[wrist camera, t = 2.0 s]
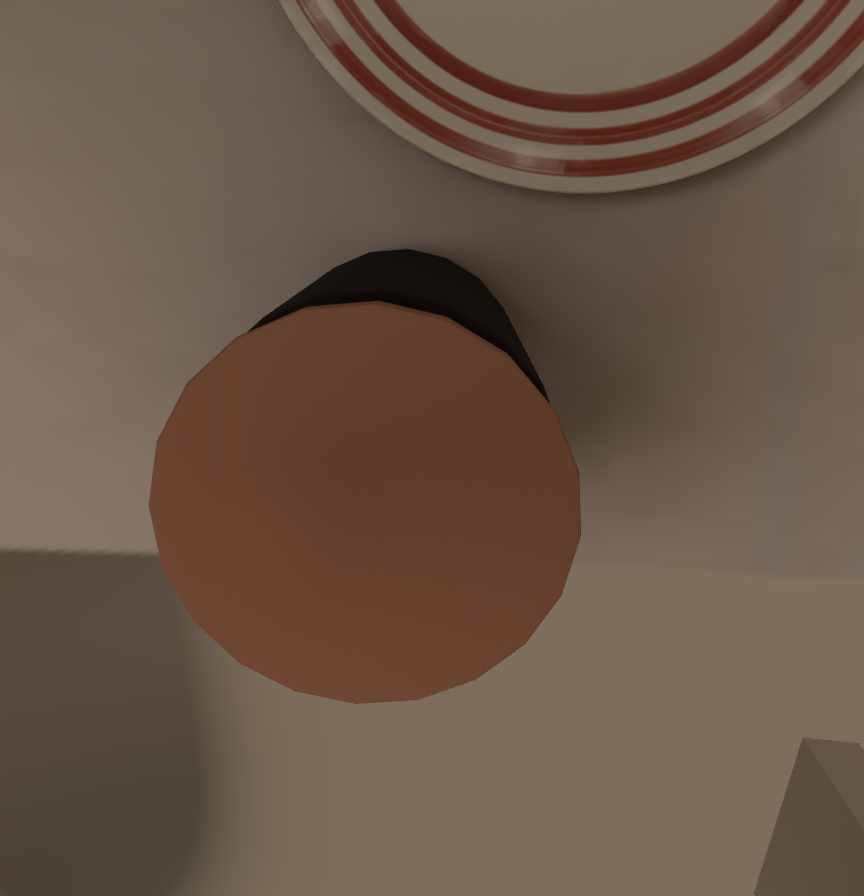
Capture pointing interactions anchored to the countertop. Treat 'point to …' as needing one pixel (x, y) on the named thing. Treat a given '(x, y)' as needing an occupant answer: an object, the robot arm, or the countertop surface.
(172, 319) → the countertop surface
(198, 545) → the coffee jar
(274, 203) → the countertop surface
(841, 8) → the dinner plate
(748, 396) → the countertop surface
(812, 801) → the robot arm
